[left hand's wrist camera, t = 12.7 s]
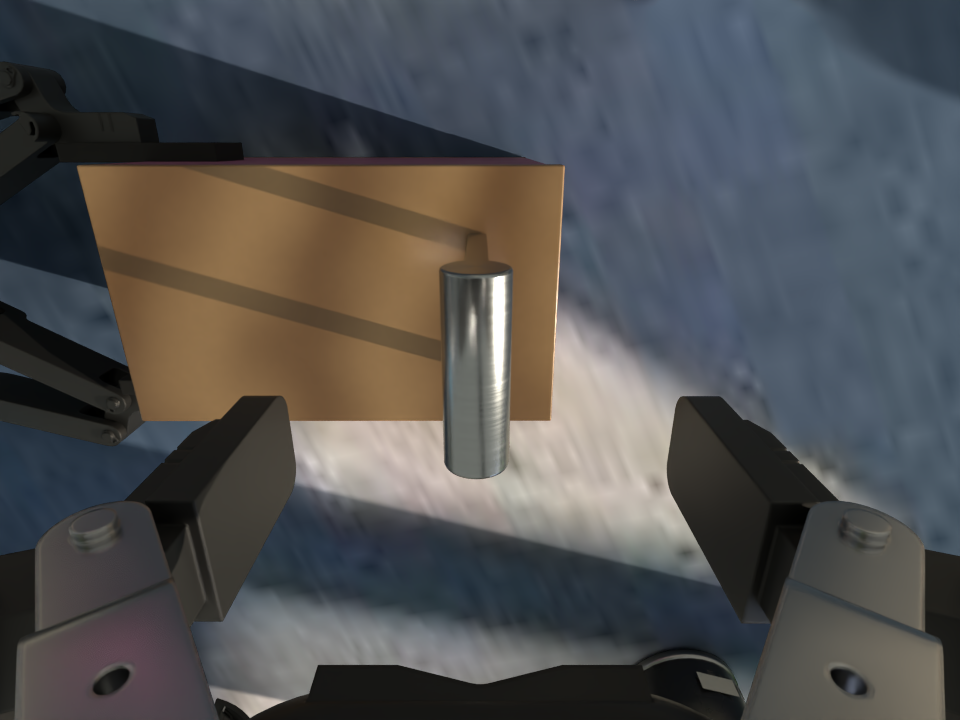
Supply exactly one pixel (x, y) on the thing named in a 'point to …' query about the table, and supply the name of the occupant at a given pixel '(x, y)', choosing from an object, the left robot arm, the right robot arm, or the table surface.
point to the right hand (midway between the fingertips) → (249, 272)
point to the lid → (338, 292)
